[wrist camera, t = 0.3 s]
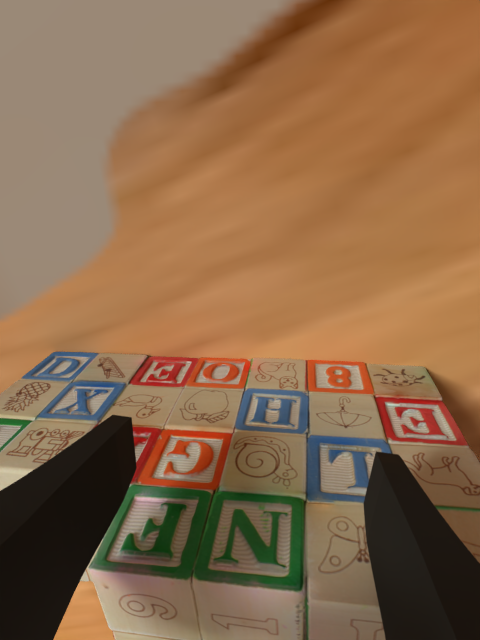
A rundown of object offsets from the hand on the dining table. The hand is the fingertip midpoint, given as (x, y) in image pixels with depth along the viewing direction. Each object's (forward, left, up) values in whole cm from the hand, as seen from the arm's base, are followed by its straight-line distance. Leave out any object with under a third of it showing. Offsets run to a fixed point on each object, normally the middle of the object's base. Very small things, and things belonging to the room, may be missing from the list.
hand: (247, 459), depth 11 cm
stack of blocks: (-5, +3, -10) cm, 12 cm away
